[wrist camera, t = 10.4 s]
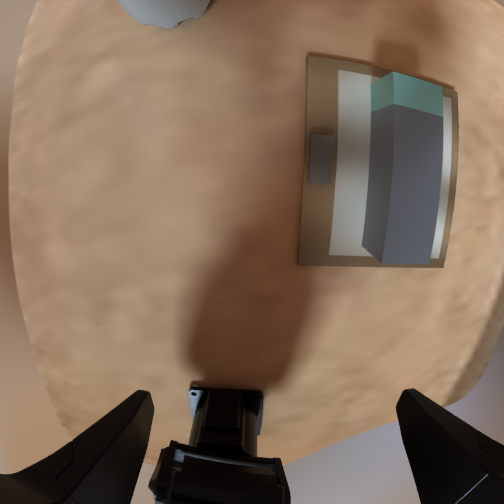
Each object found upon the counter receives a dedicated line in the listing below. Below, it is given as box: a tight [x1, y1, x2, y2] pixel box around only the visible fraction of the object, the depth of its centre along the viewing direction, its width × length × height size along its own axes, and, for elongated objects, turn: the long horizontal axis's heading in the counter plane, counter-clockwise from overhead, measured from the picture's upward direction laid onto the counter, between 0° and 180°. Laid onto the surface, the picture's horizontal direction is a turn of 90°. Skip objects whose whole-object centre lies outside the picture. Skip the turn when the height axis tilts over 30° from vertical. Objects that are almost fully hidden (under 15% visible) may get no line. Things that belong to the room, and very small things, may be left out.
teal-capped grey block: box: [361, 72, 443, 264], centre depth 15 cm, size 11×4×4 cm, turn 178°
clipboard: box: [297, 55, 459, 268], centre depth 17 cm, size 14×12×1 cm
